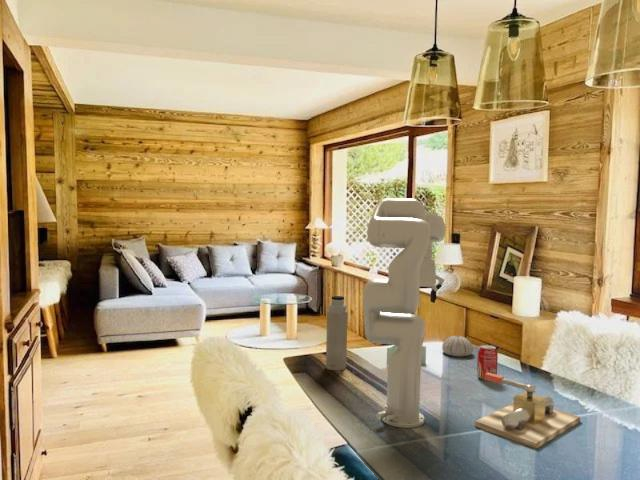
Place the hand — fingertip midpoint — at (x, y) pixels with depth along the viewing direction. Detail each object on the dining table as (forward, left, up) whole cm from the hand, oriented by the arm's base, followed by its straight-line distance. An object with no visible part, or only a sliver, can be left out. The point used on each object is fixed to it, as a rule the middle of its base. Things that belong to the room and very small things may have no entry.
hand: (419, 301), depth 183 cm
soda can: (+24, -14, -29) cm, 40 cm away
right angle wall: (+14, +16, -30) cm, 37 cm away
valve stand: (-4, -44, -29) cm, 53 cm away
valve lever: (-4, -38, -19) cm, 43 cm away
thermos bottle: (-12, +30, -29) cm, 44 cm away
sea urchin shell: (+44, +12, -29) cm, 54 cm away
